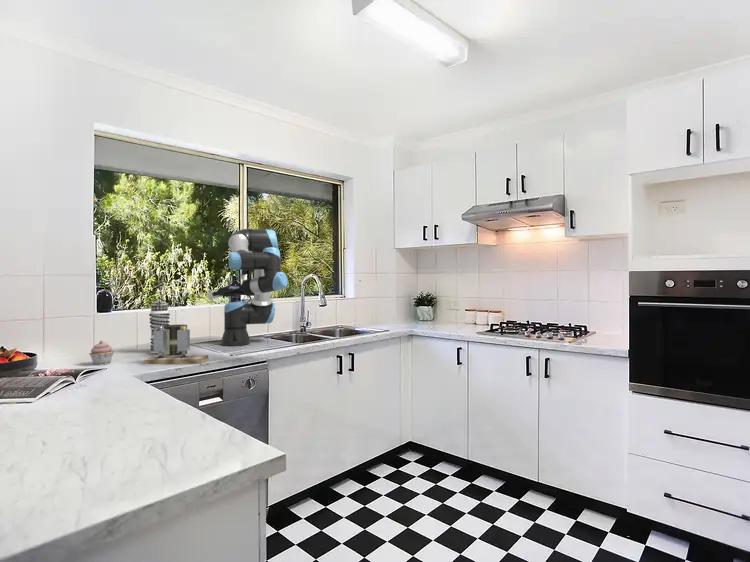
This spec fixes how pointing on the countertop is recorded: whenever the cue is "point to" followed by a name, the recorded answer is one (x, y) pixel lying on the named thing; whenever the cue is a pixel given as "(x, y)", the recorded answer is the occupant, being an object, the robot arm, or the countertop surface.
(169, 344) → the coffee can
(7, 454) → the countertop surface
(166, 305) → the decorative candle
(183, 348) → the block
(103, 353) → the cupcake
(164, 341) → the fixed leg
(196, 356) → the board
